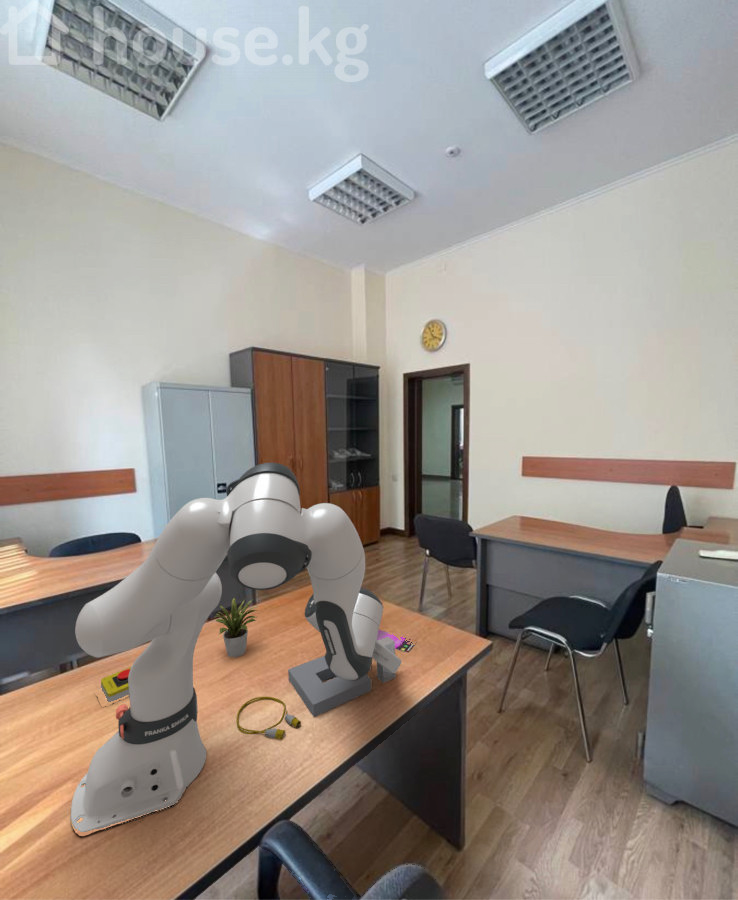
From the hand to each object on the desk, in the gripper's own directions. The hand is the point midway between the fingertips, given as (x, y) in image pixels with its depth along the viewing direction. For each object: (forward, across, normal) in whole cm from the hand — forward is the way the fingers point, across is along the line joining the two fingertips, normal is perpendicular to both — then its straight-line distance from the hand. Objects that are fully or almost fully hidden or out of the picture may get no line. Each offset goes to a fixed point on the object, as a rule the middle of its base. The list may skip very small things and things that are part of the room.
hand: (387, 657), depth 104 cm
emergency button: (-37, +36, +45) cm, 69 cm away
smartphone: (+12, +14, -4) cm, 19 cm away
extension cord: (-18, +4, +27) cm, 33 cm away
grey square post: (+3, 0, +4) cm, 5 cm away
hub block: (-6, +6, +14) cm, 17 cm away
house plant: (-18, +34, +26) cm, 47 cm away
